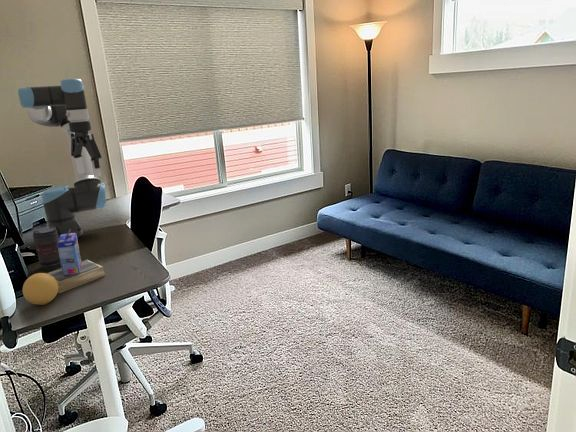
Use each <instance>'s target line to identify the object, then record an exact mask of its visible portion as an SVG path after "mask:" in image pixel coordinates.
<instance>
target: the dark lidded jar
mask: <svg viewBox="0 0 576 432" xmlns="http://www.w3.org/2000/svg"><path fill="white" fill-rule="evenodd" d="M32 237H33V241H34V246H35V247H36V248H35V251H36V252H35V253H37V257H38V262H39V263H40V266H42V269H43V270H53V269H57V268H59V267H62V266H61V261H60V256H59V251H58V246H57V242H58V240H59V238H58V234H57V231H56V228H55V227H47V226H43V227H38V228H36V229H34V230H33V231H32Z"/></svg>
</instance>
